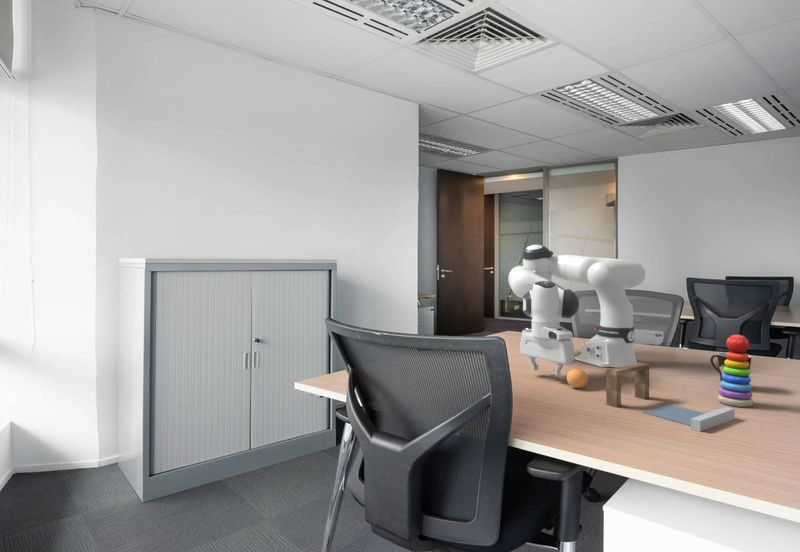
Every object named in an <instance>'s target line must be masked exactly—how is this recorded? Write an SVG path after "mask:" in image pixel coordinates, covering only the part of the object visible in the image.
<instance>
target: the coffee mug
mask: <svg viewBox="0 0 800 552" xmlns="http://www.w3.org/2000/svg"><path fill="white" fill-rule="evenodd" d="M726 353H727V352H725V351H724V352H723V351H722V352H717V353H716V355H715V354H713V355H712V356H710V364H711V366H712V367H713V368H714V369H715V370H716V372H718V373H719V380H720V382H721V381H722V380H723V379H722V375H723V374H724V373H725V372H724V371H723V369H724V367H725V366H726V365H725V364H724V361H725V360H726V359H728V358H727V357H726ZM747 355H748V356H749V358H748V360H747V362H748V363H749V367H748V369H749V370H750V368H751V362H752V355H749V354H747ZM714 358H717V364H718V365H717V366H718V367H716V365H715V363H714ZM750 371H751V370H750Z"/></svg>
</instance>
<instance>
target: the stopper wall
mask: <svg viewBox="0 0 800 552" xmlns="http://www.w3.org/2000/svg"><path fill="white" fill-rule="evenodd" d="M735 412H736V411H735V408H733V407H728V406H724V407H721V408H717V409H715V410H713V411H712V410H711V411H709V412H707V413H706V412H705V413H706V414H703V415H700V416H697V417H694V418H691V426H690V430H693V431H695V432H696V431H697V432H702V431H705V430H709V429H710V428H713V427H717V426H718V425H722V424H725V423H727V422H729V421H732V419H733V420H735V418H736V417H735ZM724 422H725V423H724ZM721 423H722V424H721ZM716 425H717V426H716Z"/></svg>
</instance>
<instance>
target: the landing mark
mask: <svg viewBox="0 0 800 552" xmlns="http://www.w3.org/2000/svg"><path fill="white" fill-rule="evenodd" d="M642 413H643V414H646V415H648V416H649V415H650V416H653V417H656V418H660V419H663V420H667V421H671V422H674V423H679V424H683V425H686V426H689V427H691V418H694V417H697V416H700V415H703V414H706V412H701V411H697V410H695V409H690V408H687V407H686V408H685V407H683V406H682V407H681V406H677V405H673V404H670V403H669V404H666V405H662V406H659V407H655V408H652V409H648V410H644V411H642Z"/></svg>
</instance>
